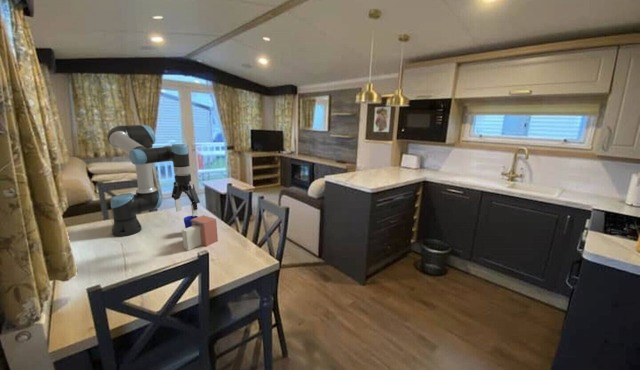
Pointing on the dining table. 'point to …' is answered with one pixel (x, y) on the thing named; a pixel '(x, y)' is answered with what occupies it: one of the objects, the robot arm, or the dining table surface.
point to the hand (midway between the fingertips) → (186, 213)
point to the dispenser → (207, 229)
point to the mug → (188, 221)
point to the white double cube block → (192, 237)
